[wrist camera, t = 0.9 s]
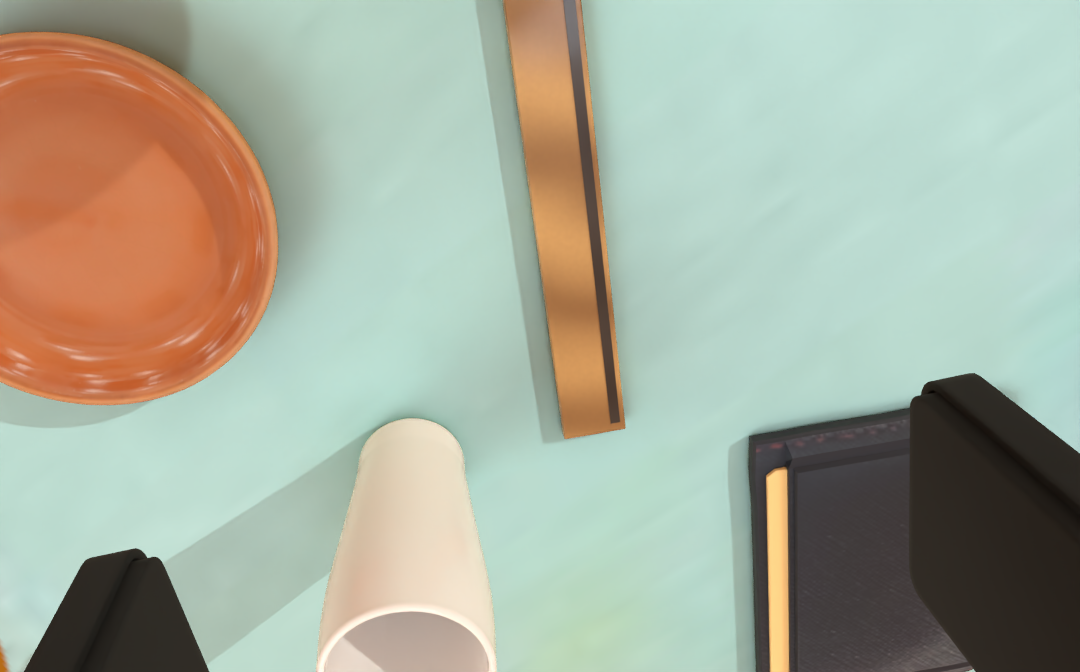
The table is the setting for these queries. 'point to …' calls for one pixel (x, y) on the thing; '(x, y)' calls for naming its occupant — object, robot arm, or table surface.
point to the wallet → (839, 552)
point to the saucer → (122, 225)
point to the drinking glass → (409, 563)
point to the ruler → (567, 209)
